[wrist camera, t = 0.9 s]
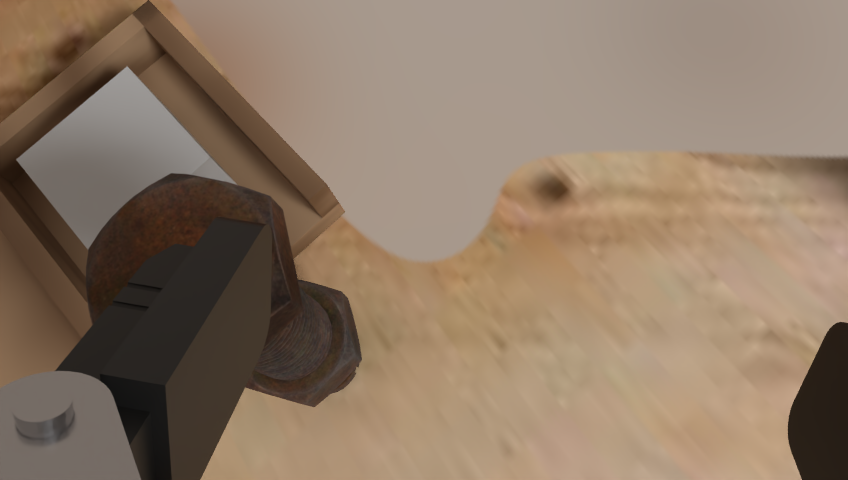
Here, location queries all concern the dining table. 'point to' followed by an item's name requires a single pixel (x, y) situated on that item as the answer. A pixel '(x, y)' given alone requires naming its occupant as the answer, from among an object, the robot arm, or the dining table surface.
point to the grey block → (113, 154)
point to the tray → (53, 238)
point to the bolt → (290, 298)
